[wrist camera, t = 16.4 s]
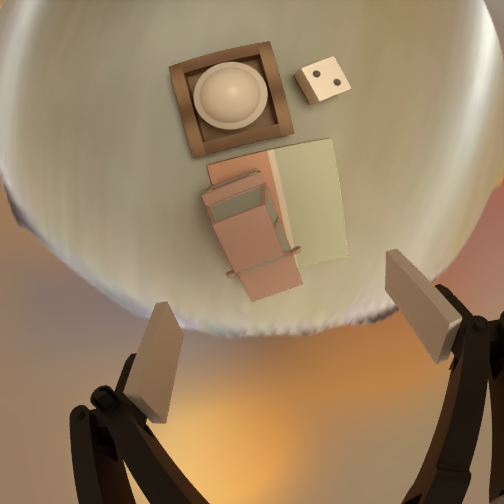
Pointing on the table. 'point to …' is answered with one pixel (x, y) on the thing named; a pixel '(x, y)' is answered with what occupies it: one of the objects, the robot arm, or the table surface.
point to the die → (322, 80)
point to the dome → (230, 95)
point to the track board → (299, 195)
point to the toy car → (252, 235)
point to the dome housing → (216, 139)
